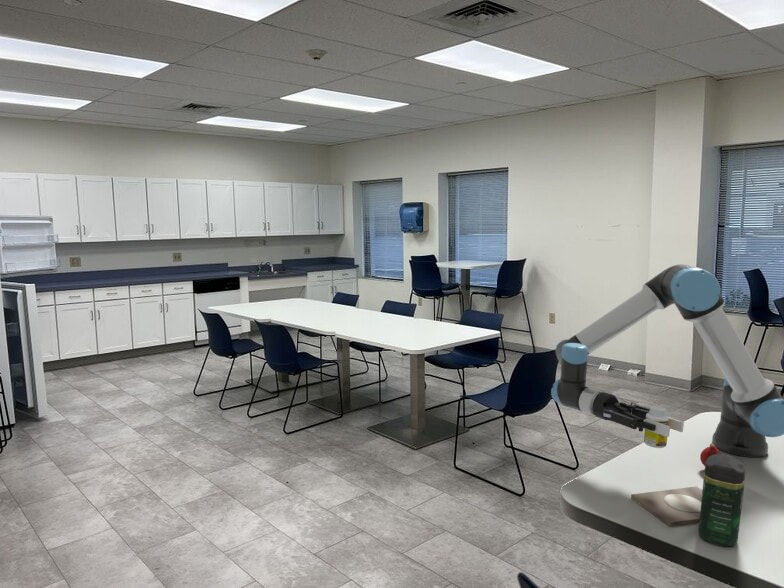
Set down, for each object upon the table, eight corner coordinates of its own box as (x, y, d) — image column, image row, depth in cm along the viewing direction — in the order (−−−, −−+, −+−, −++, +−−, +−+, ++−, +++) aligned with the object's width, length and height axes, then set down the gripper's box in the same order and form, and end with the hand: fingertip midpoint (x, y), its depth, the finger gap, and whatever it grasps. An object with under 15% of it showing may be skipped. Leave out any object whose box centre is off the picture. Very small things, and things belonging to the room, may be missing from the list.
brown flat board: (696, 490, 152) (696, 485, 152) (739, 516, 138) (740, 512, 138) (631, 498, 147) (631, 493, 147) (669, 526, 133) (669, 521, 133)
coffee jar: (737, 552, 123) (745, 471, 121) (696, 540, 128) (703, 462, 125) (739, 532, 132) (747, 455, 129) (700, 521, 136) (707, 447, 133)
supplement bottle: (658, 450, 148) (661, 412, 146) (639, 443, 152) (642, 406, 151) (671, 446, 151) (674, 409, 149) (651, 439, 155) (654, 403, 154)
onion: (721, 468, 165) (723, 442, 164) (723, 476, 160) (725, 449, 159) (698, 464, 167) (700, 438, 166) (699, 472, 162) (702, 446, 161)
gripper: (618, 410, 171) (694, 436, 152) (577, 422, 161) (653, 450, 142) (619, 386, 170) (696, 409, 151) (579, 396, 160) (655, 422, 141)
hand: (675, 429), depth 146 cm, fingers closed on supplement bottle, 6 cm apart
